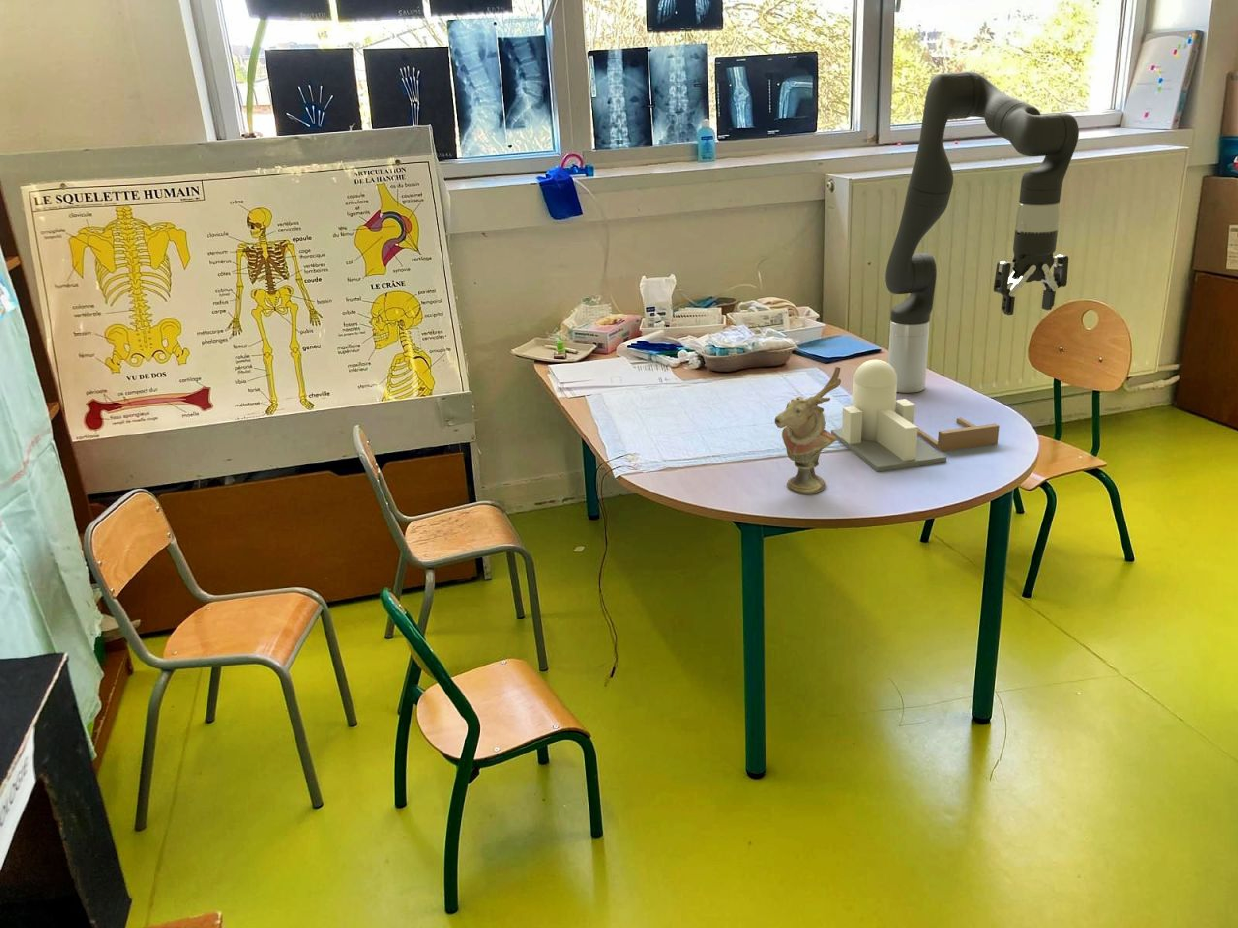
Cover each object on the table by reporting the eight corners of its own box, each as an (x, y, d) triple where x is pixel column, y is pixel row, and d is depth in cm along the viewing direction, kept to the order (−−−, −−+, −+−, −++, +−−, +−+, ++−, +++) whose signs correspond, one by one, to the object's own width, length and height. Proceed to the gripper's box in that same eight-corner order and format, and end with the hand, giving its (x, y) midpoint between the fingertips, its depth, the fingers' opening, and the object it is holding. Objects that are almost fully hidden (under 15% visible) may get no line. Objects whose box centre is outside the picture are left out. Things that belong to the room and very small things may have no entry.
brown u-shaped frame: (907, 428, 206) (908, 411, 205) (960, 421, 208) (961, 404, 207) (941, 451, 193) (942, 433, 192) (997, 443, 195) (999, 425, 194)
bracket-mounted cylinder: (830, 434, 206) (833, 358, 199) (893, 425, 208) (897, 350, 202) (877, 471, 185) (881, 388, 179) (945, 461, 188) (952, 379, 181)
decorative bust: (763, 495, 175) (780, 365, 168) (778, 477, 187) (795, 355, 179) (820, 507, 171) (840, 374, 164) (832, 488, 183) (852, 364, 175)
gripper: (1056, 221, 179) (1046, 304, 185) (991, 228, 176) (983, 312, 183) (1083, 226, 172) (1072, 312, 179) (1015, 233, 170) (1006, 320, 176)
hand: (1027, 312), depth 181 cm, fingers open, 8 cm apart
